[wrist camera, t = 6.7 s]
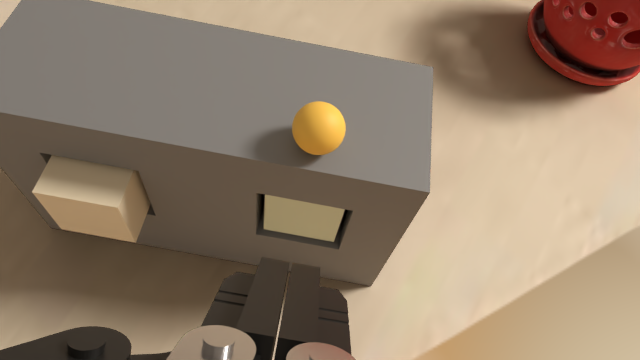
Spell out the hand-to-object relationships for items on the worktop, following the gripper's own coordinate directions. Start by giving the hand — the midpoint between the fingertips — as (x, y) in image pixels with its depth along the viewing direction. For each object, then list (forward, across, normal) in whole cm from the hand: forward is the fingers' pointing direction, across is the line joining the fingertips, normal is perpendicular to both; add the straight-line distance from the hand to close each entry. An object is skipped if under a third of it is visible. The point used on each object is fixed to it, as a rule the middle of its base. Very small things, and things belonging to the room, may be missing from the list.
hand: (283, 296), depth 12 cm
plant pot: (+39, -24, -12) cm, 48 cm away
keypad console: (+22, +5, +5) cm, 24 cm away
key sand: (+16, +11, +4) cm, 20 cm away
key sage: (+17, 0, +3) cm, 17 cm away
